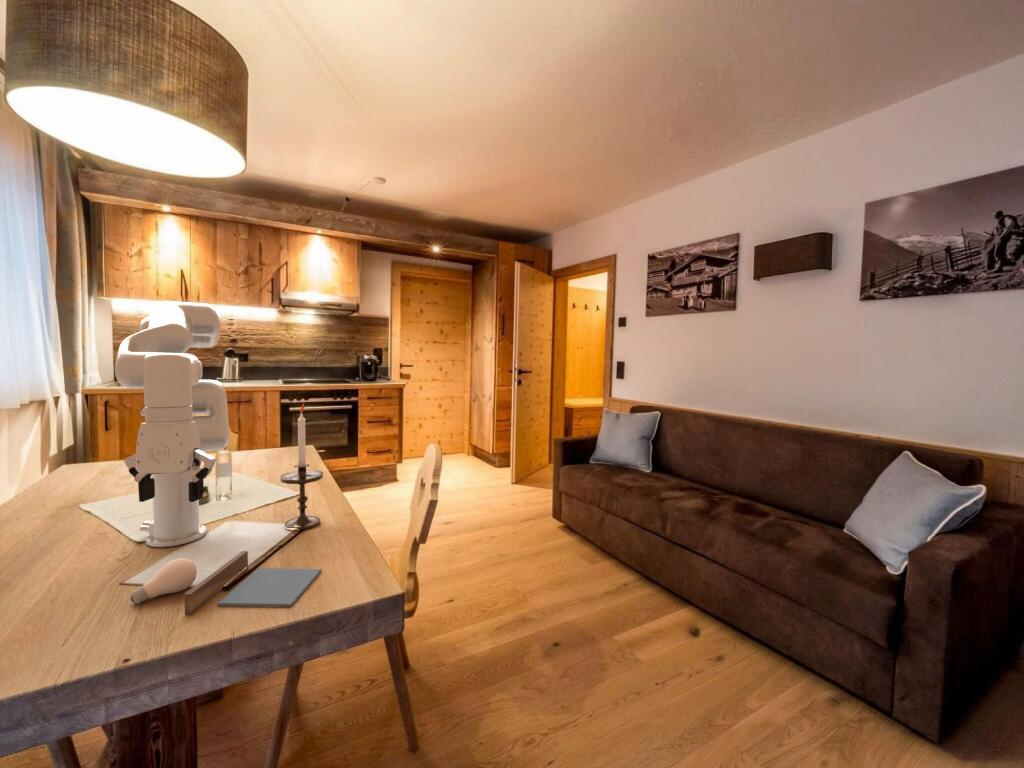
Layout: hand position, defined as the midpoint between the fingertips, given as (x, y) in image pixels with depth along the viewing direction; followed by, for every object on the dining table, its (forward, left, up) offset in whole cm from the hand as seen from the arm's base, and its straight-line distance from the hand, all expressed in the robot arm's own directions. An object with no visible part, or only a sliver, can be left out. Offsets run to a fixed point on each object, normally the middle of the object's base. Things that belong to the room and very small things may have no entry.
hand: (171, 499), depth 89 cm
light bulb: (-1, -1, -19) cm, 19 cm away
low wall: (+9, +1, -19) cm, 21 cm away
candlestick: (+10, +36, -19) cm, 42 cm away
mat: (+19, +2, -19) cm, 27 cm away
